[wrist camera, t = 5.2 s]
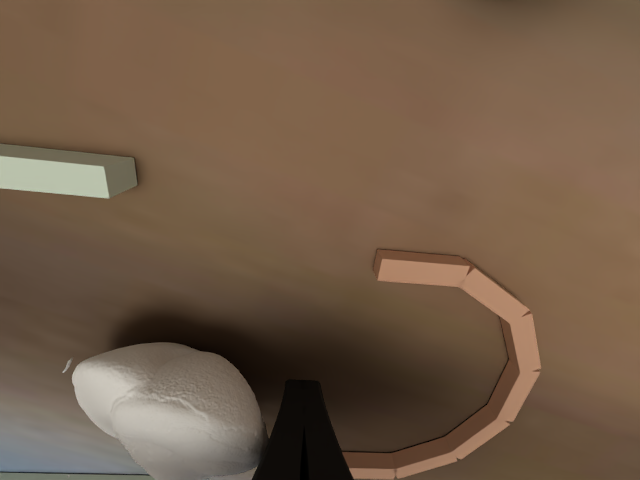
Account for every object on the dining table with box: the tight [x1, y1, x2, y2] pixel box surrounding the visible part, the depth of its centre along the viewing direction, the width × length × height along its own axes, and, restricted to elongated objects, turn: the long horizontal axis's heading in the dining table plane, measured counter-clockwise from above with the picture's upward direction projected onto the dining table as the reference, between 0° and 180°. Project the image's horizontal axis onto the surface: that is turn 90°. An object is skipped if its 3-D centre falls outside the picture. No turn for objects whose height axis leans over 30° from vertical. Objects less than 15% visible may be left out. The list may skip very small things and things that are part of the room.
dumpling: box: [63, 342, 269, 480], centre depth 10 cm, size 7×5×4 cm
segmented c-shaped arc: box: [342, 249, 541, 479], centre depth 12 cm, size 12×7×1 cm, turn 173°
